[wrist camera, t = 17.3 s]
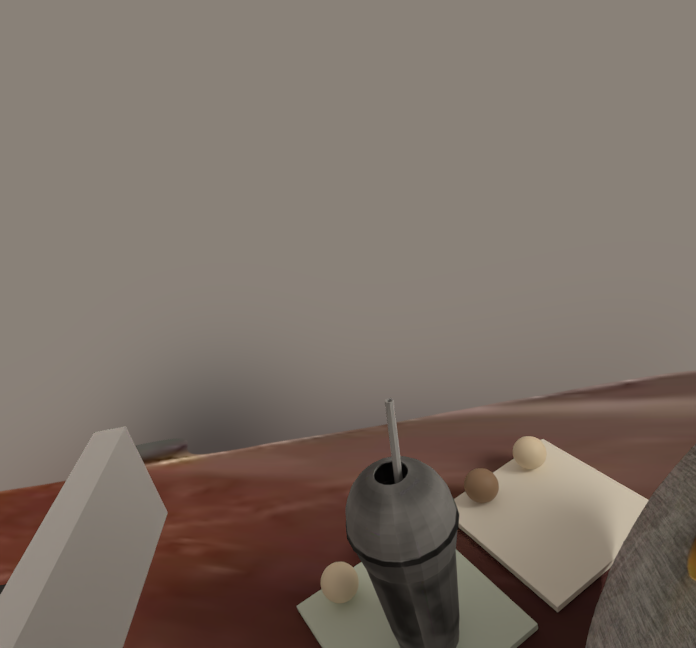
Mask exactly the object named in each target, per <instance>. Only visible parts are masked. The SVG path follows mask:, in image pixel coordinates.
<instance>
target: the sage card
mask: <svg viewBox="0 0 696 648" xmlns="http://www.w3.org/2000/svg"><path fill="white" fill-rule="evenodd" d="M456 564H457V581H458V598H459V615H460V620H459V642H458V644H457V647H456V648H517V647H518V646H519V645H520V644H522V643H523V642H524V641H525V640H526V639H527V638H529V637H530V636H531V635H532V634H533V633H534V632H536V631H537V630H538V624H537V623H536V622H535V621H534V620H533V619H532V618H531V617H530V616H528V615H527V614H526V613H525V612H524V611H523V610H522V609H521V608H520V607H519V606H517V605H516V604H515V603H514V602H513V601H512V600H511V599H510V598H509V597H508V596H507V595H505V594H504V593H503V592H502V591H501V590H500V589H499V588H498V587H497V586H496V585H494V584H493V583H492V582H491V581H490V580H489V579H488V578H487V577H486V576H485V575H484V574H482V573H481V572H480V571H479V570H478V569H477V568H476V567H475V566H474V565H473V564H471V563H470V562H469V561H468V560H467V559H466V558H465V557H464V556H463V555H462V554H461V553H459V552H458V551H457V550H456ZM297 609H298V611H299V613H300V614H301V616H302V617H303V619H304V621H305V622H306V624H307V625H308V627H309V628H310V630H311V631H312V633H313V635H314V636H315V638H316V639H317V641H318V642H319V644H320V645H321V647H322V648H400V646H399V644H398V641H397V639H396V638H395V636H394V634H393V632H392V630H391V627H390V625H389V623H388V620H387V618H386V615H385V613H384V611H383V608H382V606H381V603H380V601H379V599H378V596H377V594H376V591H375V589H374V587H373V584H372V582H371V579H370V577H369V575H368V572H367V570H366V568H365V567H364V565H363V563H362V562H361V563H359V564H358V565H356V566H355V567H352V566H351V565H349V564H347V563H345V562H335V563H332V564H330V565H329V566H328V567H327V568H326V569H325V570H324V572H323V574H322V576H321V590H319V591H318V592H316V593H315V594H313V595H312V596H310V597H309V598H307V599H306V600H305V601H303V602H302V603H300V604H299V605H297Z"/></svg>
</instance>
